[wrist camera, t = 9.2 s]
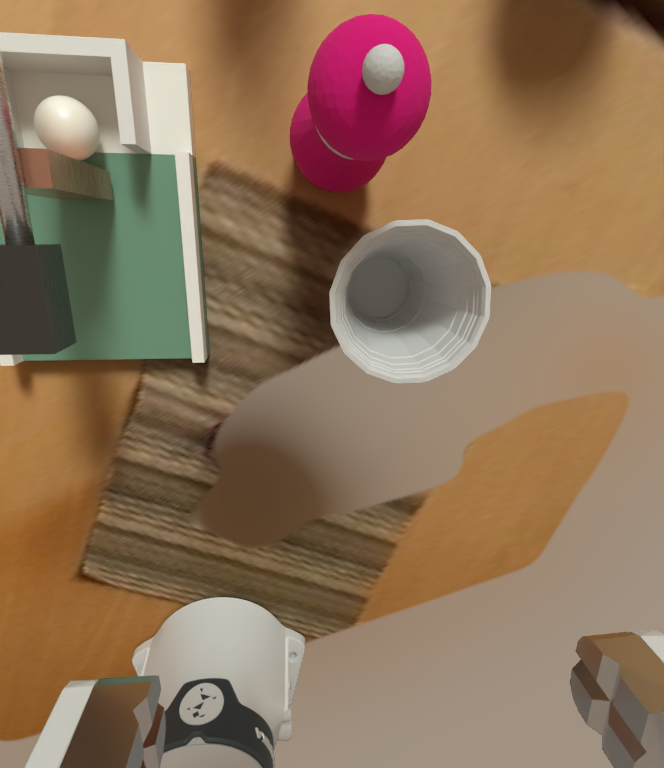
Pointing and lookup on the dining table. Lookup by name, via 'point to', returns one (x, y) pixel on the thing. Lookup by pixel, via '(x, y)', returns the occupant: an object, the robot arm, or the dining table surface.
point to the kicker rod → (20, 253)
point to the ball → (67, 127)
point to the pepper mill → (360, 102)
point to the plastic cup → (410, 301)
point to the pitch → (119, 198)
